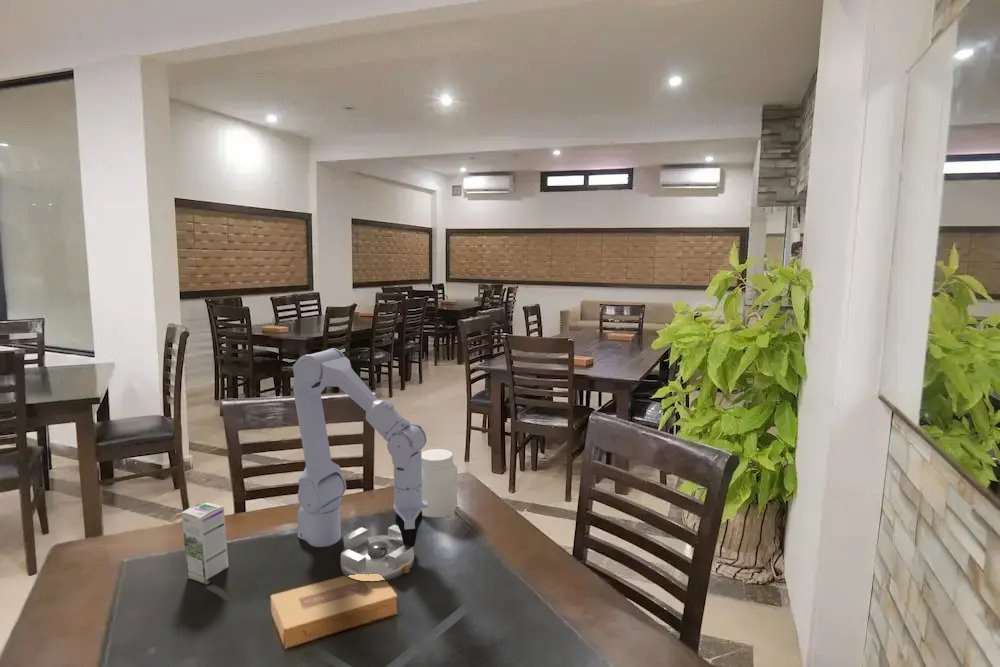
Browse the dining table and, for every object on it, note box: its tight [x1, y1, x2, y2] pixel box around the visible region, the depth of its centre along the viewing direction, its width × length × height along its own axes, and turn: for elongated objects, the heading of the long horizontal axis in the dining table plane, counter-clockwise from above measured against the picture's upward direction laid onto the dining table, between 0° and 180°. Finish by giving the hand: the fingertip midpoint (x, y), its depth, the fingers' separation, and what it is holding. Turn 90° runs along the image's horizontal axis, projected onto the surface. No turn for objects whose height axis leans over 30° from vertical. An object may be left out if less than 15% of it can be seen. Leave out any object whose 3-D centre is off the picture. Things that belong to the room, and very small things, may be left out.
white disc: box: [340, 524, 415, 581], centre depth 123 cm, size 16×15×4 cm
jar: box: [421, 448, 458, 519], centre depth 149 cm, size 12×10×15 cm
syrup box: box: [181, 501, 230, 585], centre depth 119 cm, size 6×6×14 cm
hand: (409, 545), depth 124 cm, fingers closed
